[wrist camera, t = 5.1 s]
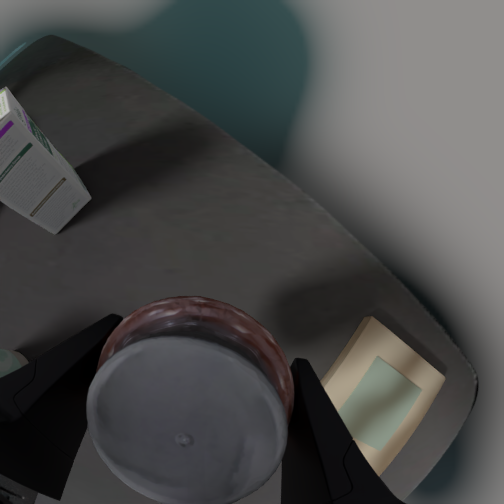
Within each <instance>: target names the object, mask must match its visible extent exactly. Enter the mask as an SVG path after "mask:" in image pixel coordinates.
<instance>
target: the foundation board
mask: <svg viewBox="0 0 504 504" xmlns="http://www.w3.org/2000/svg"><path fill="white" fill-rule="evenodd" d="M445 379H446V378H445V377H444V376H443V375H442V374H441V373H440V372H438V371H437V370H436V369H435V368H434V367H433V366H431V365H430V364H429V363H428V362H427V361H426V360H424V359H423V358H422V357H421V356H420V355H418V354H417V353H416V352H415V351H414V350H413V349H411V348H410V347H409V346H408V345H407V344H405V343H404V342H403V341H402V340H401V339H399V338H398V337H397V336H396V335H395V334H393V333H392V332H391V331H390V330H389V329H387V328H386V327H385V326H384V325H382V324H381V323H380V322H379V321H378V320H376V319H375V318H374V317H373V316H368V317H364V318H363V320H362V322H361V323H360V325H359V326H358V328H357V329H356V331H355V333H354V334H353V336H352V337H351V339H350V340H349V342H348V343H347V345H346V346H345V348H344V349H343V351H342V352H341V354H340V355H339V356H338V358H337V359H336V361H335V362H334V364H333V365H332V366H331V368H330V369H329V370H328V372H327V373H326V375H325V376H324V377H323V379H322V380H321V381H320V382H321V384H322V386H323V387H324V389H325V391H326V392H327V394H328V396H329V398H330V399H331V401H332V403H333V404H334V406H335V408H336V410H337V411H338V413H339V415H340V417H341V418H342V420H343V422H344V423H345V425H346V427H347V429H348V430H349V432H350V434H351V435H352V437H353V440H355V442H356V444H357V445H358V447H359V449H360V450H361V452H362V454H363V455H364V457H365V458H366V460H367V461H368V463H369V464H370V465H371V467H372V468H373V469H374V471H375V472H376V473H377V475H378V476H380V475H381V473H382V472H383V471H384V470H385V469H386V468H387V466H388V465H389V464H390V463H391V461H392V460H393V459H394V458H395V456H396V455H397V454H398V453H399V451H400V450H401V449H402V447H403V446H404V445H405V443H406V442H407V441H408V439H409V438H410V436H411V435H412V434H413V432H414V431H415V429H416V428H417V426H418V425H419V423H420V422H421V420H422V419H423V417H424V415H425V414H426V412H427V411H428V409H429V407H430V406H431V404H432V402H433V401H434V399H435V397H436V395H437V394H438V392H439V390H440V388H441V386H442V384H443V383H444V381H445Z"/></svg>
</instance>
